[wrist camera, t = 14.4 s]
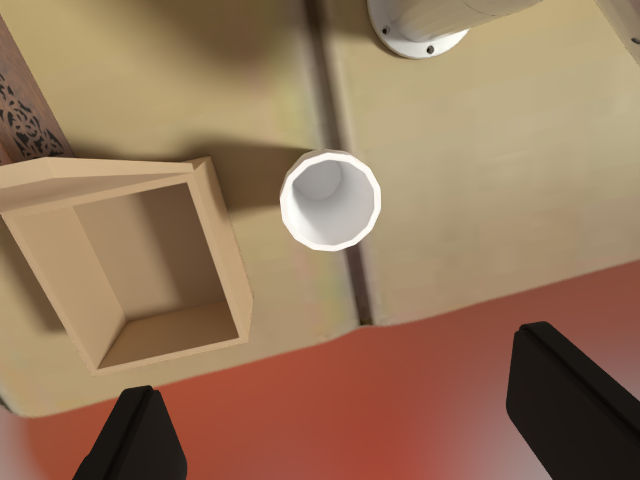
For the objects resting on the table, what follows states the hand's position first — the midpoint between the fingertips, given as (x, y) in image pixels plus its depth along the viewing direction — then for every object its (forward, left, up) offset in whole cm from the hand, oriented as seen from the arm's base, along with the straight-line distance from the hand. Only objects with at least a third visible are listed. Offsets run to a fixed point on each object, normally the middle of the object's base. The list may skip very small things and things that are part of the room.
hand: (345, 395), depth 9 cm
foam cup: (+3, +3, -38) cm, 38 cm away
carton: (+8, -18, -37) cm, 42 cm away
